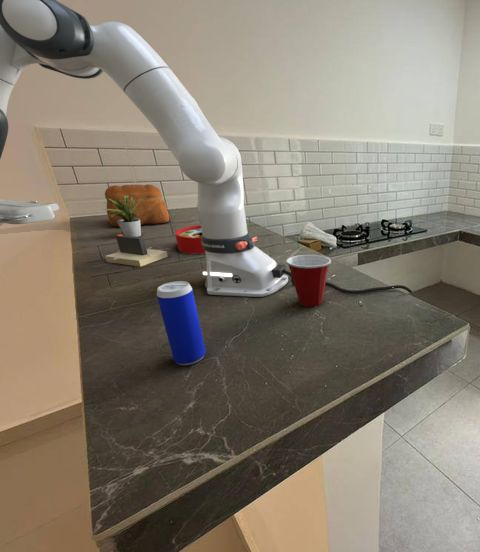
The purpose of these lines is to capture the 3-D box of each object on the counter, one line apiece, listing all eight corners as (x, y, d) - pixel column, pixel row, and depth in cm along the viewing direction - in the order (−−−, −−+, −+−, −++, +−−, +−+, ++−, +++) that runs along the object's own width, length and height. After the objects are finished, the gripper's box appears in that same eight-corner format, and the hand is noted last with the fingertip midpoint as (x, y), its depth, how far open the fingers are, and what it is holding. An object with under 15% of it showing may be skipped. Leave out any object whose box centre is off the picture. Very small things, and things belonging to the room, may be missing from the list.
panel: (172, 255, 111) (170, 249, 110) (135, 268, 99) (133, 261, 98) (137, 250, 114) (136, 245, 113) (98, 263, 102) (96, 256, 101)
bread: (171, 224, 148) (163, 186, 141) (110, 229, 135) (97, 188, 129) (168, 216, 160) (160, 181, 154) (111, 221, 148) (100, 183, 142)
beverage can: (211, 350, 64) (197, 280, 58) (197, 367, 59) (180, 293, 53) (184, 349, 64) (167, 279, 58) (168, 366, 59) (147, 292, 53)
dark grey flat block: (147, 253, 106) (143, 236, 103) (143, 255, 104) (138, 238, 102) (125, 250, 107) (120, 234, 105) (120, 252, 106) (115, 235, 104)
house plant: (111, 232, 132) (99, 191, 126) (153, 229, 139) (143, 190, 133) (106, 241, 121) (92, 197, 115) (152, 237, 128) (141, 195, 122)
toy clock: (160, 235, 112) (199, 222, 130) (164, 251, 114) (202, 236, 133) (215, 239, 111) (247, 226, 129) (218, 256, 113) (248, 240, 131)
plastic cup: (339, 296, 88) (338, 255, 84) (319, 314, 79) (317, 269, 74) (304, 290, 91) (301, 249, 86) (281, 307, 81) (276, 262, 77)
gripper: (1, 205, 69) (74, 196, 82) (-68, 197, 73) (12, 190, 85) (13, 233, 72) (82, 220, 84) (-54, 224, 75) (21, 213, 88)
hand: (46, 205), depth 85 cm, fingers open, 5 cm apart
